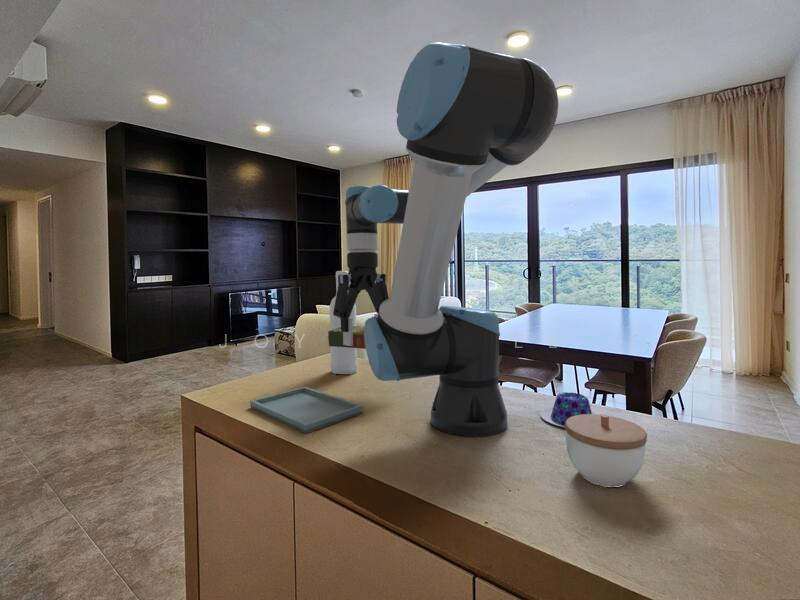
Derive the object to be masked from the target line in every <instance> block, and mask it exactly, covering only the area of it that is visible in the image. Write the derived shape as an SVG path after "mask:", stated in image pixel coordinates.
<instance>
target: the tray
mask: <svg viewBox="0 0 800 600" xmlns="http://www.w3.org/2000/svg"><path fill="white" fill-rule="evenodd" d="M249 405H250V407H251V408H250V409H252V410H254V409H255V410H254V411H256V410H257V412H258V411H259V412H258V413H260V414H262V415H265V416H268V417H269V418H271V419H273V420H276V421H278V422H280V423H282V424H284V425H286V426H289V427H291V428H293V429H295V430H297V431H300V432H301V433H303V434H308V433H311V432H314V431H316V430H319V429H322V428H325V427H327V426H328V427H329V426H330V425H331V426H332V425H333V424H337V423H339V422H341V421H345V420H347V419H351V418H353V417H356V416H358V415H362V414H364V413H363V411H364V407H363V406H364V405H362V404H358V403H355V402H353V401H349V400H346V399H344V398H340V397H338V396H335V395H331V394H328V393H326V392H322V391H319V390H316V389H314V388H310V387H307V386H302V387H298V388H295V389H291V390H287V391H282V392H280V393H279V392H278V393H276V394H272V395H271V394H270V395H268V396H263V397H260V398H259V397H258V398H256V399H251V400H250V401H249Z"/></svg>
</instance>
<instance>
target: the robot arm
mask: <svg viewBox="0 0 800 600" xmlns="http://www.w3.org/2000/svg"><path fill="white" fill-rule="evenodd" d="M396 113H397V116H396V127H397V131H398V133H399V134H400V135H401V137H403V138H404V139H405V140H406V144H405V145H406V146H405V150H406V152H407V154H408V155H409V157H410V158H411V159H412V161H413V167H412V173H411V178H410V183H409V189H393V188H391V187H390V186H387V185H384V184H377V185H373V186H369V185H355V186H354V185H353V186H349V187H348V188H347V189H346V190H345V200H344V204H345V222H346V224H345V225H346V250H347V251H348V253H347V254H346V265H347V266H346V267H347V268H348V274H347V275H338V284H339V285H338V290H337V296H336V295H335V296H336V301H335V306H334V312H333V315H334V316H338V318H340V319H341V331H342V332H343V345H348V346H353V321H352V318H349V317H350V314H351V312H352V309H353V307H354V304H355V305H356V302H357V301H356V300H357V298H358V297H359V295H360V293H361V292H362V291H364V290H365V292H367V295H368V297H369V299H370V300H371V303H372V305H373V308H374V310H375V312H376V313H374V314H373V316H371V317H369V318H367V319H366V320H365V322H364V325H363V327H364V339H365V347H366V349H365V351H366V356H367V361H368V364H369V366H370V369H371V371H372V373H373V375H374V376H375V377H376V379H378V380H380V381H383V382H388V381H389V382H390V381H391V382H392V381H396V382H399V381H404V380H409V379H410V380H411V379H418V378H427V377H434V376H439V384H438V387H437V389H436V392H435V393H436V394H435V396H434V399H433V402H432V406H431V408H430V423H431V425H432V426H433V427H434V428H435V429H438V430H439V431H442V432H444V433H447V434H451V435H453V436H454V435H456V436H459V437H488V436H491V435H492V436H493V435H496V434H499V433H501V432H503V431H504V430H505V429H507V427H508V411H507V409H506V406H505V403H504V402H505V401H504V398H503V396H502V393H501V389H500V385H499V373H500V371H499V369H500V367H499V365H500V364H499V363H500V352H499V351H500V336H501V333H500V324H499V323H500V321H499V317H498V315H497V314H496V313H495V312H493V311H491V310H484V309H479V308H471V307H462V306H453V305H441V306H439V305H440V302H441V297H442V293H443V290H444V286H445V282H446V278H447V276H448V270H449V268H450V267H449V266H450V263H451V258H452V255H453V251H454V246H455V242H456V238H457V234H458V230H459V227H460V223H461V219H462V215H463V211H464V207H465V202H466V199H467V197H469V196H470V195H471V194H473V193H474V192H475V191H477V190H478V189H479V188H481V187H482V186H483V185H484V184H486V183H487V182H489V180H491V179H492V178H493V177H495V176H497V174H499V173H500V172H501V171H503V170H504V169H505V168H507V167H508V166H509V167H511V166H517V165H520V164H522V163H524V162H525V160H527V159H529V158H530V157H531V156H533V154H535V153H536V152H538V150H540V148H541V147H542V146H543V145H544V144H545V142H546V141H547V140H548V138H549V137H550V135H551V134H552V131H553V130H554V127H555V125H556V121H557V118H558V113H559V98H558V92H557V88H556V86H555V82H554V80H553V78H552V77H551V75H550V74H549V73H548V71H547V70H546V69H545V68H543V67H542V66H541V64H538V63H537V62H535V61H533V60H531V59H528V58H524V57H520V56H519V57H515V56H511V55H506V54H503V53H502V54H501V53H497V52H493V51H490V50H489V51H488V50H484V49H480V48H476V47H471V46H468V45H464V44H462V43H459V44H455V43H448V42H431V43H429V44H426V45H425V46H423V47H422V48H421V49H420V50H419V51H418V52H417V53H416V54H415V56H414V57H413V59H412V61H411V62H410V64H409V65H408V67H407V69H406V72H405V74H404V77H403V80H402V83H401V85H400V90H399V94H398V98H397V104H396ZM378 224H393V225H395V224H397V225H401V224H402V229H401V234H400V239H399V243H398V244H399V245H398V250H397V255H396V262H395V266H394V273H393V278H392V282H391V283H392V284H391V290H390V295H389V293H388V288H387V283H386V282H387V281H386V279H387V277H386V276H387V275H386V274H385V273H378V272H377V267H379V261H378V260H379V258H378V257H379V256H378V253H377V252H376V251H378V249H379V247H378V246H379V245H378Z"/></svg>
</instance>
